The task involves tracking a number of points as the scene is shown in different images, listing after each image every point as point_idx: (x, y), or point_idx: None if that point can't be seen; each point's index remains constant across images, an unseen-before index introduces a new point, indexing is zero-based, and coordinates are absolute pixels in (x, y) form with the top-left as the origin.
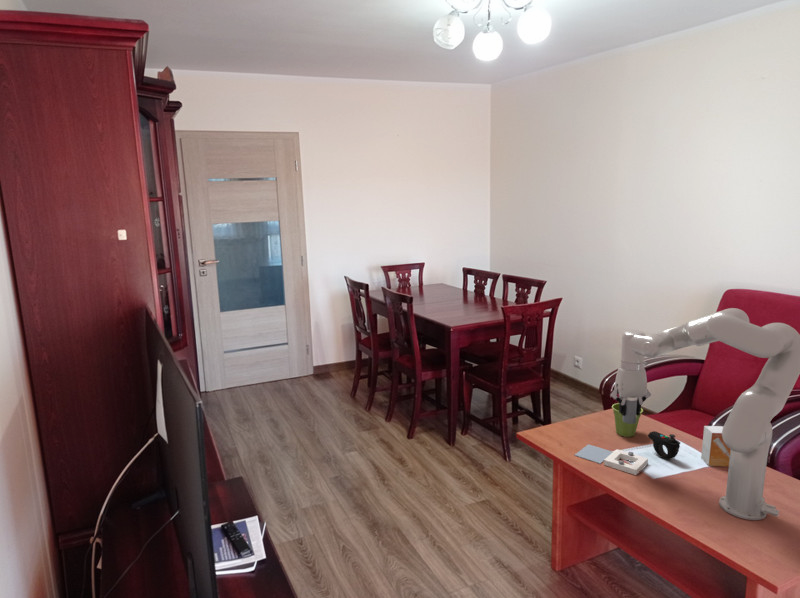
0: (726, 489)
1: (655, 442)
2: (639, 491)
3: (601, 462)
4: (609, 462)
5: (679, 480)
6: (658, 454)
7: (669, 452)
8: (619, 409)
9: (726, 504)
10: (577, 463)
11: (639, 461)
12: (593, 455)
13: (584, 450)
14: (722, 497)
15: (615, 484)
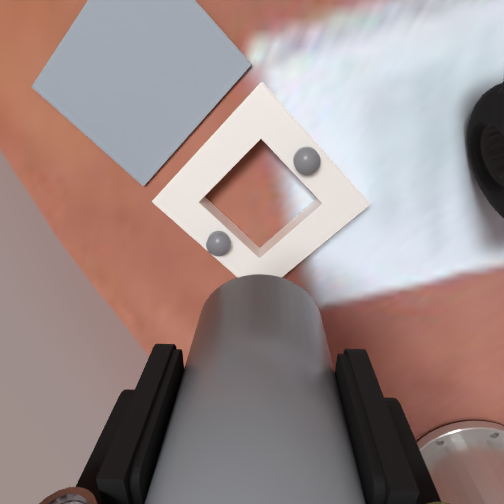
0: (453, 493)
1: (501, 115)
2: None
3: (152, 176)
4: (173, 217)
5: (400, 325)
6: (469, 134)
7: (500, 205)
8: (115, 416)
9: (426, 461)
10: (41, 172)
11: (312, 228)
12: (130, 102)
13: (93, 31)
14: (446, 436)
15: (158, 331)
